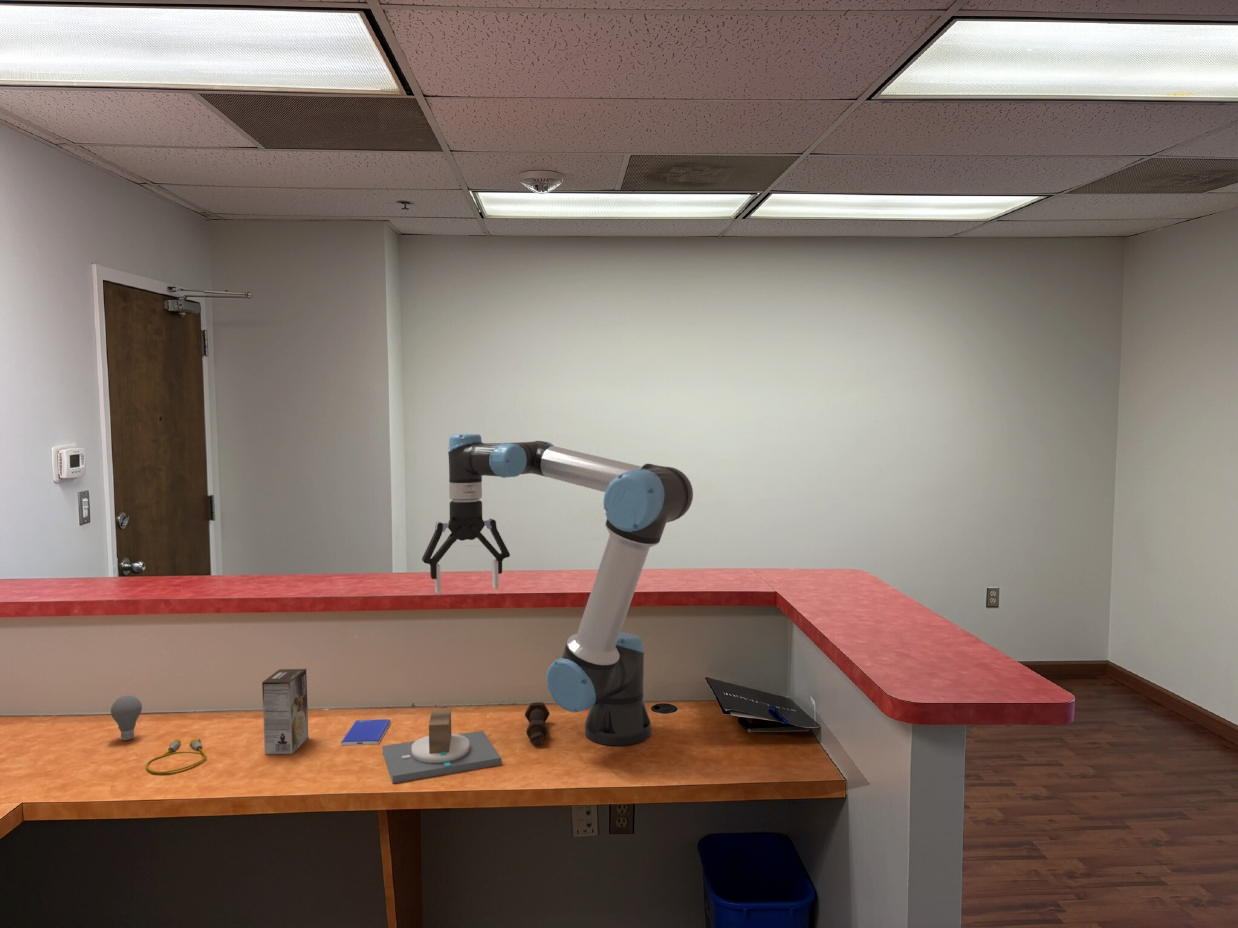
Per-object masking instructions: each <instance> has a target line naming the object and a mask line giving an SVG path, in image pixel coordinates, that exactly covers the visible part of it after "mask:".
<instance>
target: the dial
mask: <svg viewBox="0 0 1238 928" xmlns="http://www.w3.org/2000/svg"><path fill="white" fill-rule="evenodd" d="M429 717H430V718H429V723H428V735H426V736H423V737H420V738H419V739H417V740H414V741H415V742H414V743H413V744H412V757H413V758H414V759H415V760H417V761H420V762H424V763H445V762H451V761H454V760H457V759H460V758H462V757H464V756H465V755H466V754H467V753H468V752H469V740H468V739H467V738H466V737H464V736H462V735H458V734H459V733H452V708H439V709H432V710H431V713H430V716H429Z"/></svg>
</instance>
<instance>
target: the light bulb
mask: <svg viewBox="0 0 1238 928" xmlns="http://www.w3.org/2000/svg"><path fill="white" fill-rule="evenodd" d="M142 710H143V704H142V702H141V700H140V699H139V698H137V696H134V695H130V694H129V695H128V694H127V695H123V696H120V697H118V698H117V699H115V701H114V702H113V703H112V705H111V708H110V714H111V717H112V719H113V720H114V722H116V724H117V726H118V730H120V740H122V741H130V740H131V739H134V737H135V727H136V726H137V723H136V722H137V720H138V718H139V717H140V715H141V713H142Z"/></svg>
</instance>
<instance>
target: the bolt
mask: <svg viewBox="0 0 1238 928" xmlns="http://www.w3.org/2000/svg"><path fill="white" fill-rule="evenodd" d="M524 717H525V719H526V720H527V721H528V726H527V728H526V730H525V732H526V733H525V734H526V735H527V737H528V739H529V742H530V743H531V744H532V745H533V746H541V745H542V744H543V743H545V740H546V737H547V735H548V733H549V728H548V726H547V725H546V721H547V720H548V718H549V717H550V711H549V709H548V707H547V706H546V704H545V703H544V702H540V701H539V702H531V703H530V704H529V706H528V707H527V709H526V711H525V712H524Z"/></svg>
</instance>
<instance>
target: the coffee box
mask: <svg viewBox="0 0 1238 928" xmlns="http://www.w3.org/2000/svg"><path fill="white" fill-rule="evenodd" d="M307 679H308V678H307V668H287V669H286V668H285V669H283V668H282V669H278V670H277V671H275V672H274V673H272V674H271V675H270V676H269V677H267V678H266V679H265V680H263V681H262V682H261V684H262V685H261V687H262V711H263V712H262V713H263V714H262V715H263V716H262V717H263V738H264V739H263V741H264V755H293V754H294V753H296V751H297V750H298V749H299V748H300V747H301V746H302V745H303V743H305V741H307V740H308V739H309V716H308V715H309V710H308V708H309V707H308V685H307V684H308V683H307V682H308V681H307Z"/></svg>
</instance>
